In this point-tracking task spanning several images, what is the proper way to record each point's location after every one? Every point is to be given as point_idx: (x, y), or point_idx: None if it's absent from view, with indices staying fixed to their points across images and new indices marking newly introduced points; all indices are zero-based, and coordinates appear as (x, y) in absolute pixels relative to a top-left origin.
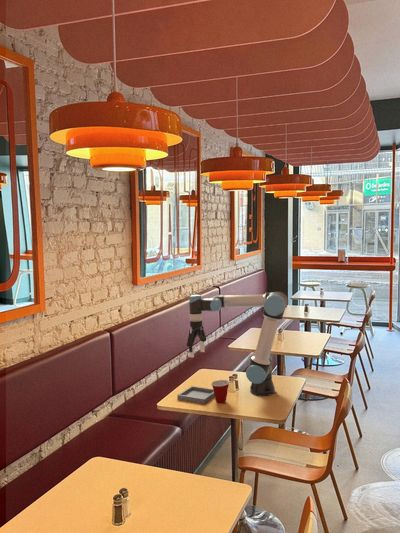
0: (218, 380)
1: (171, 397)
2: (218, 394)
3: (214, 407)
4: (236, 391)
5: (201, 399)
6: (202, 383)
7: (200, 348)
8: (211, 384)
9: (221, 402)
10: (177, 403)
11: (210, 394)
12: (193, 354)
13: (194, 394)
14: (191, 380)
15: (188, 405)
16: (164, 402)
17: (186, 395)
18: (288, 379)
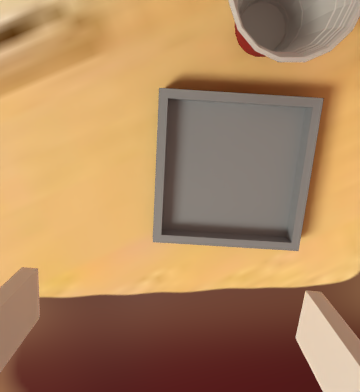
0: (241, 27)
1: (274, 276)
2: (317, 8)
3: None
4: (77, 8)
5: (319, 115)
6: (44, 227)
7: (16, 345)
8: (331, 47)
9: (287, 12)
10: (337, 221)
11: (242, 97)
12: (332, 314)
13: (221, 193)
14: None
15: (348, 165)
16: (340, 276)
17: (246, 222)
18: None
